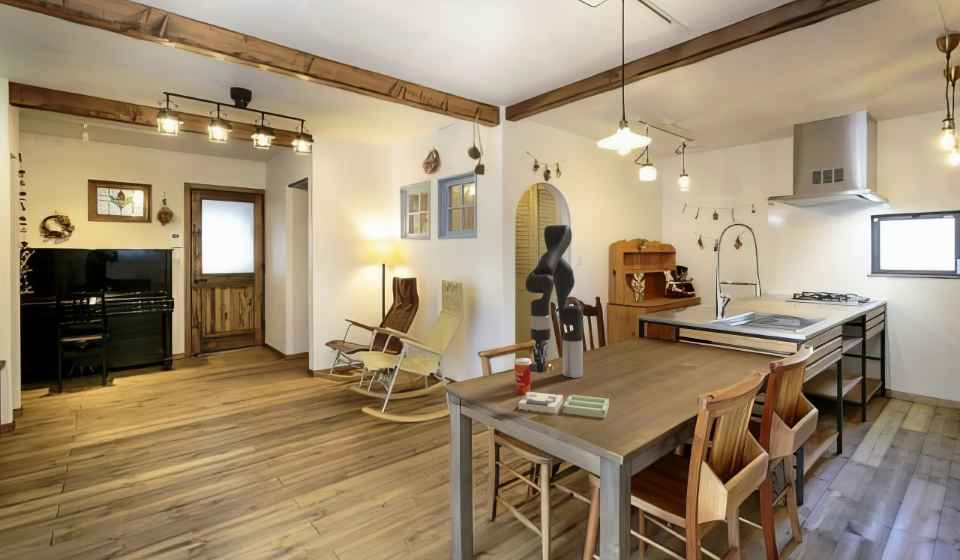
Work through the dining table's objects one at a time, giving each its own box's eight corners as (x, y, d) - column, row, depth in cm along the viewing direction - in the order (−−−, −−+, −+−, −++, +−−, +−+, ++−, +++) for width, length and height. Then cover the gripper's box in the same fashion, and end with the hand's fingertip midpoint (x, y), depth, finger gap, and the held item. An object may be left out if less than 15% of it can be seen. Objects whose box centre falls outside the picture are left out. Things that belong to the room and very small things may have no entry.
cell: (531, 371, 177) (532, 363, 178) (553, 373, 174) (553, 365, 174) (529, 371, 174) (530, 362, 175) (551, 373, 171) (552, 364, 172)
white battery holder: (528, 397, 184) (528, 387, 184) (563, 401, 179) (562, 390, 179) (518, 409, 171) (518, 398, 171) (555, 413, 166) (555, 402, 166)
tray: (569, 401, 179) (569, 394, 179) (609, 405, 173) (609, 398, 173) (562, 413, 166) (562, 406, 166) (604, 418, 161) (604, 410, 161)
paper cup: (511, 391, 194) (510, 358, 193) (527, 388, 196) (526, 356, 195) (519, 396, 186) (518, 362, 185) (535, 394, 189) (535, 360, 188)
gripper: (535, 323, 181) (536, 365, 182) (525, 329, 168) (526, 375, 169) (554, 324, 178) (554, 367, 180) (545, 330, 165) (546, 377, 167)
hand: (541, 371), depth 174 cm, fingers closed on cell, 3 cm apart
